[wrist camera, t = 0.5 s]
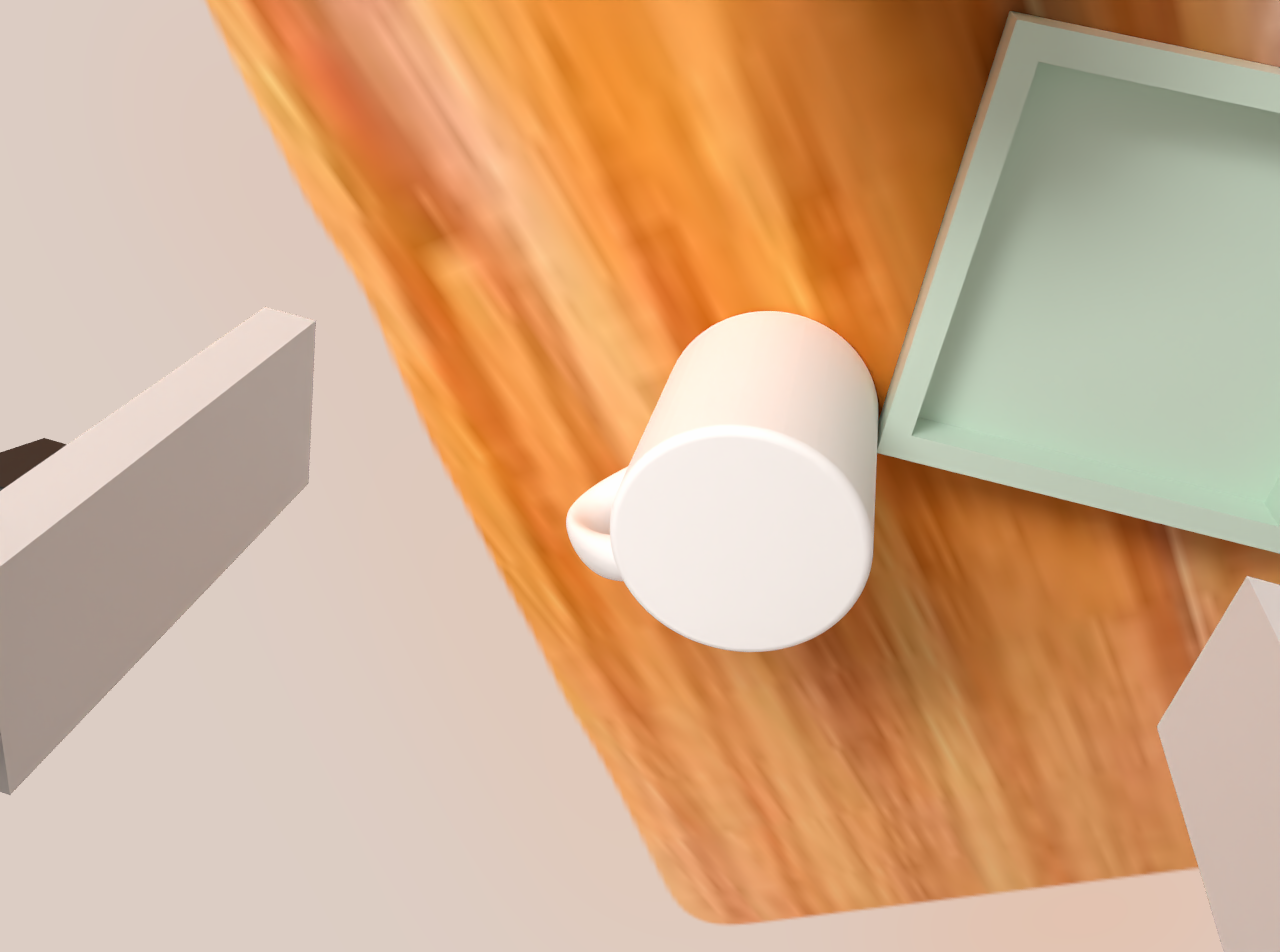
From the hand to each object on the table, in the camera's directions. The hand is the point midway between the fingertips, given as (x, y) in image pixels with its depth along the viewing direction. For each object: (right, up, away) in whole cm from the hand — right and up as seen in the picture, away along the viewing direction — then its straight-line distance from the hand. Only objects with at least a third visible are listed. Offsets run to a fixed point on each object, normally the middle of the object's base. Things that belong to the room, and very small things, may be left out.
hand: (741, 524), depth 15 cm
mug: (+2, +3, +28) cm, 29 cm away
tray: (+16, +7, +22) cm, 29 cm away
